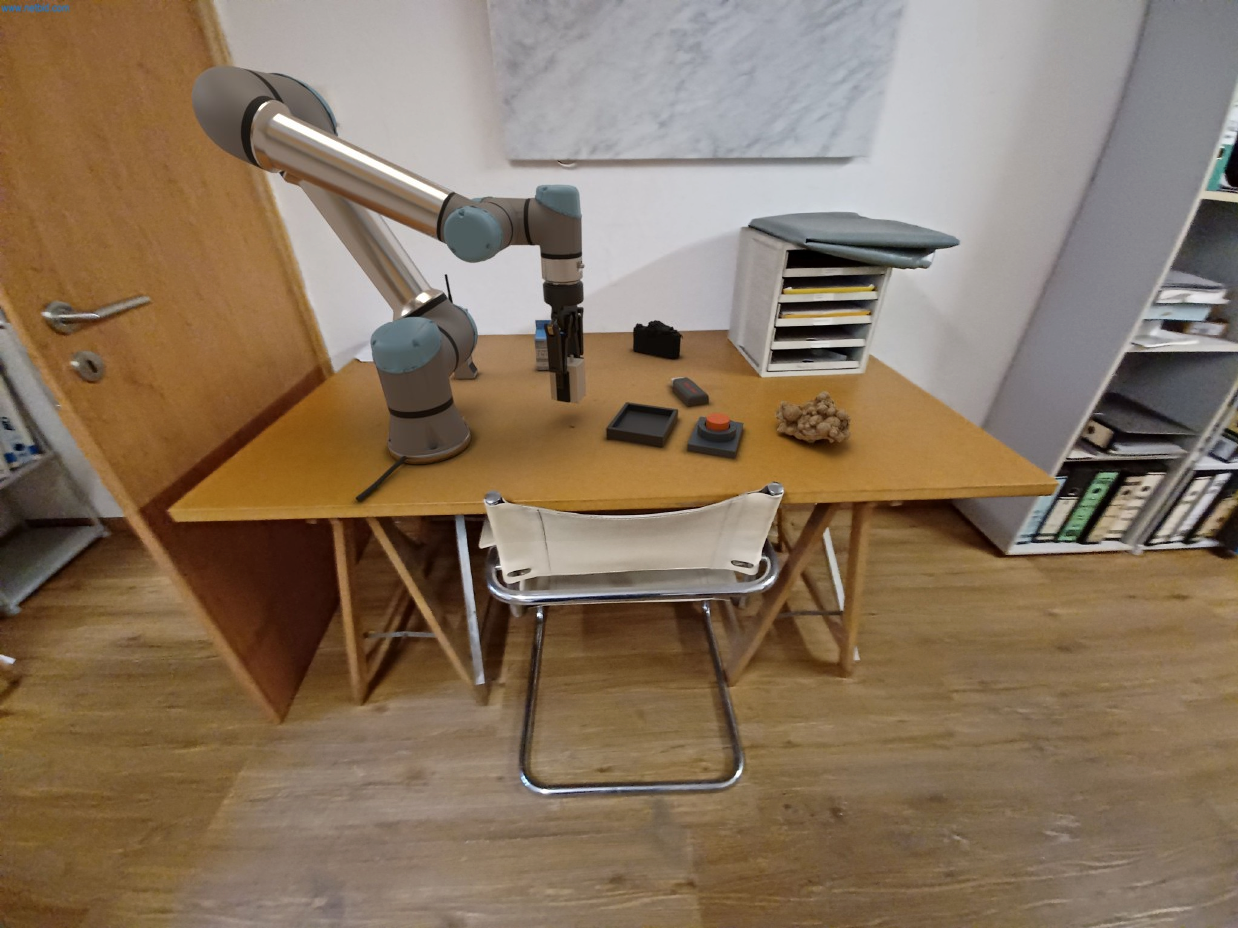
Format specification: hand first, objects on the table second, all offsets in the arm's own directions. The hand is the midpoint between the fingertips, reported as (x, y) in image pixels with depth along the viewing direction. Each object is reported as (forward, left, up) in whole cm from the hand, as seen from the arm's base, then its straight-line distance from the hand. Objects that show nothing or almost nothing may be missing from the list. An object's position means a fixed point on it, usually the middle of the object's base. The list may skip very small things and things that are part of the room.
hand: (568, 395), depth 105 cm
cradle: (0, -16, -5) cm, 17 cm away
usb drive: (+19, -21, -5) cm, 29 cm away
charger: (0, 0, 0) cm, 0 cm away
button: (0, -31, -2) cm, 31 cm away
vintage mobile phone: (+13, +35, -5) cm, 37 cm away
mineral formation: (+7, -49, -5) cm, 50 cm away
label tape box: (+25, +16, -5) cm, 30 cm away
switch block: (0, -31, -5) cm, 32 cm away
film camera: (+46, -7, -5) cm, 47 cm away
